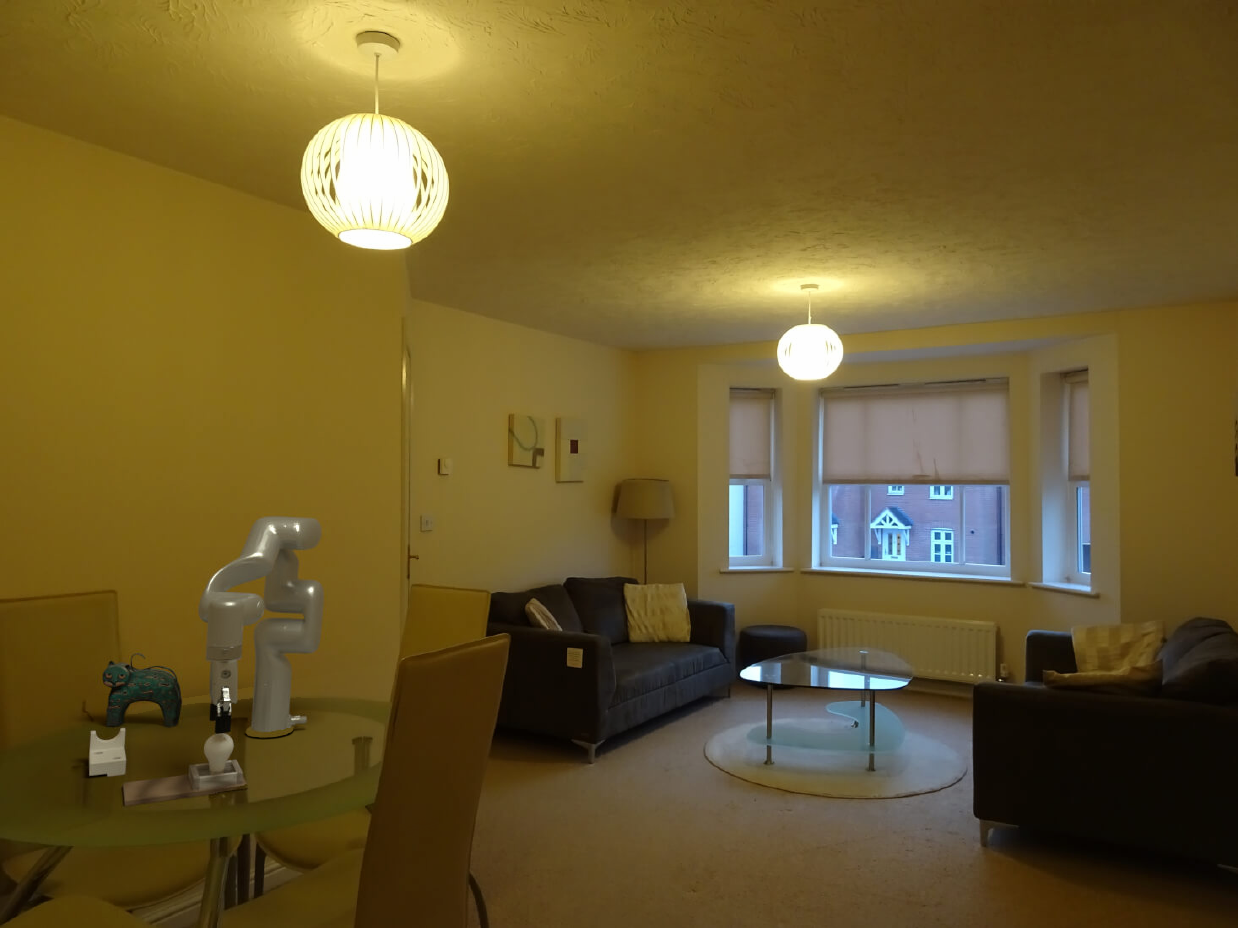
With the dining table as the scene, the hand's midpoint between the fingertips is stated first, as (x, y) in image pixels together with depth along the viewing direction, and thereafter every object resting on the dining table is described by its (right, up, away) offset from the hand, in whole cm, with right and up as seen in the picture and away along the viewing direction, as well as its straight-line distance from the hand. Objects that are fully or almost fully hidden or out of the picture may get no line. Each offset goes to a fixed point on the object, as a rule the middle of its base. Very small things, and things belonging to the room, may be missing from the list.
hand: (219, 726), depth 192 cm
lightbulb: (0, -12, -2) cm, 12 cm away
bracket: (-30, -12, +6) cm, 33 cm away
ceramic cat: (-41, -12, +40) cm, 58 cm away
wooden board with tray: (-6, -13, -4) cm, 14 cm away
